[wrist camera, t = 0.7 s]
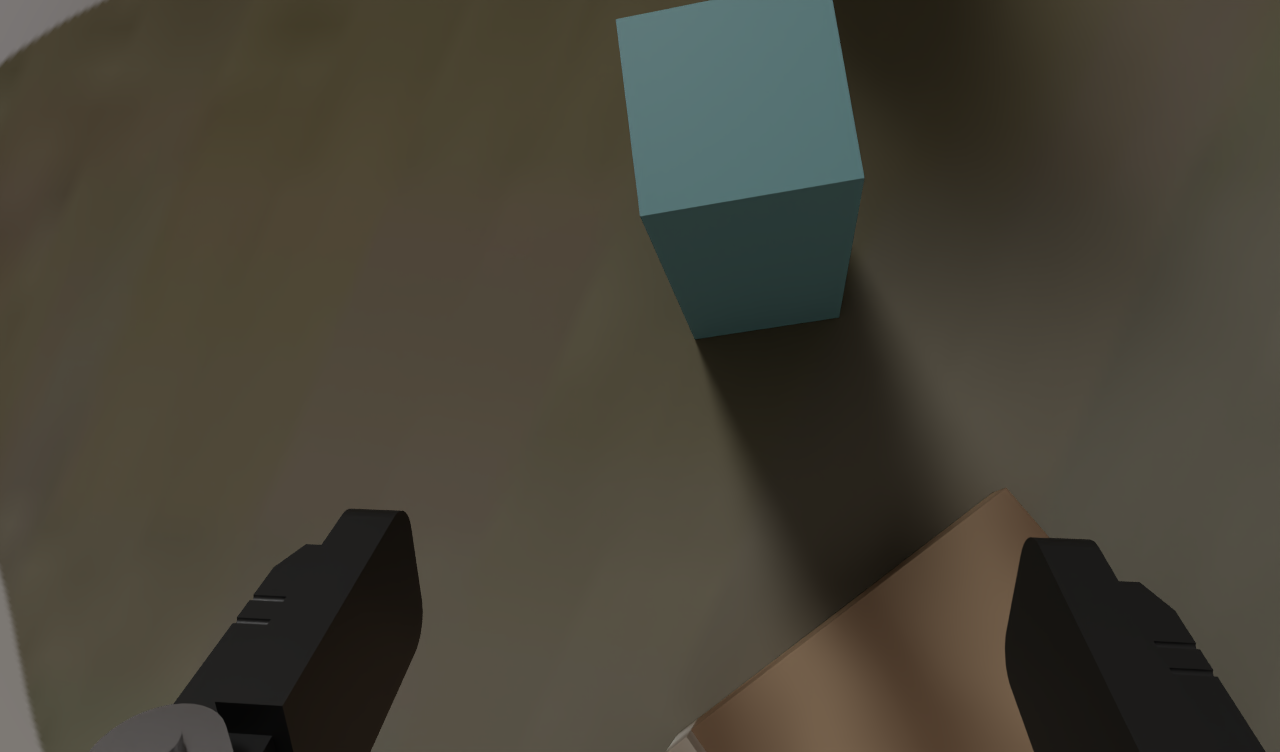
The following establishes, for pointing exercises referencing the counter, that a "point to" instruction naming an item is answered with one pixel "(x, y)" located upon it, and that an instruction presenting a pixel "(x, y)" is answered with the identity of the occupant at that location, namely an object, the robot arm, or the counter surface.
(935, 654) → the shelf
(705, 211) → the tea box
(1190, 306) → the counter surface
